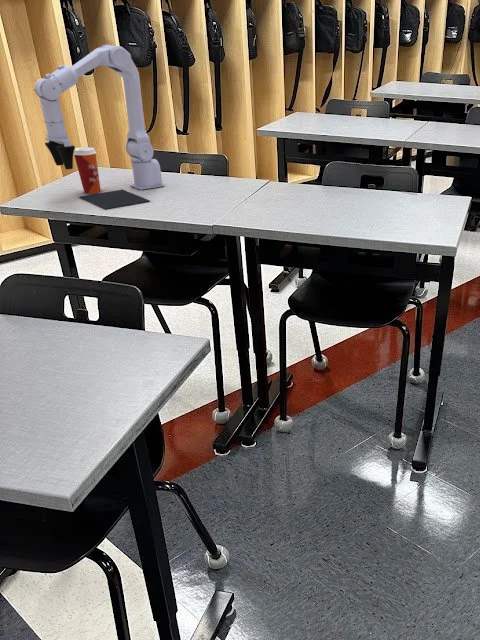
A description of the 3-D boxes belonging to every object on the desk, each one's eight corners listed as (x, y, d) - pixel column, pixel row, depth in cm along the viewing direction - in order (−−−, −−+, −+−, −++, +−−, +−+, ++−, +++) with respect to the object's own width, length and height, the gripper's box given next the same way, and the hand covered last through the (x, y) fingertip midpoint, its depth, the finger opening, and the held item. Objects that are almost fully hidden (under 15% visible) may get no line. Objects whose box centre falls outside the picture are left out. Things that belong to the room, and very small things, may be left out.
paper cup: (99, 194, 229) (91, 151, 221) (78, 194, 229) (68, 150, 221) (106, 189, 236) (98, 146, 227) (85, 188, 236) (76, 146, 227)
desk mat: (122, 190, 234) (122, 189, 234) (149, 201, 222) (149, 200, 222) (79, 197, 226) (79, 196, 225) (105, 209, 214) (105, 208, 213)
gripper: (33, 120, 213) (44, 165, 221) (51, 125, 204) (61, 172, 212) (54, 118, 217) (64, 162, 225) (73, 123, 208) (82, 169, 216)
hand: (64, 167), depth 219 cm, fingers open, 7 cm apart
